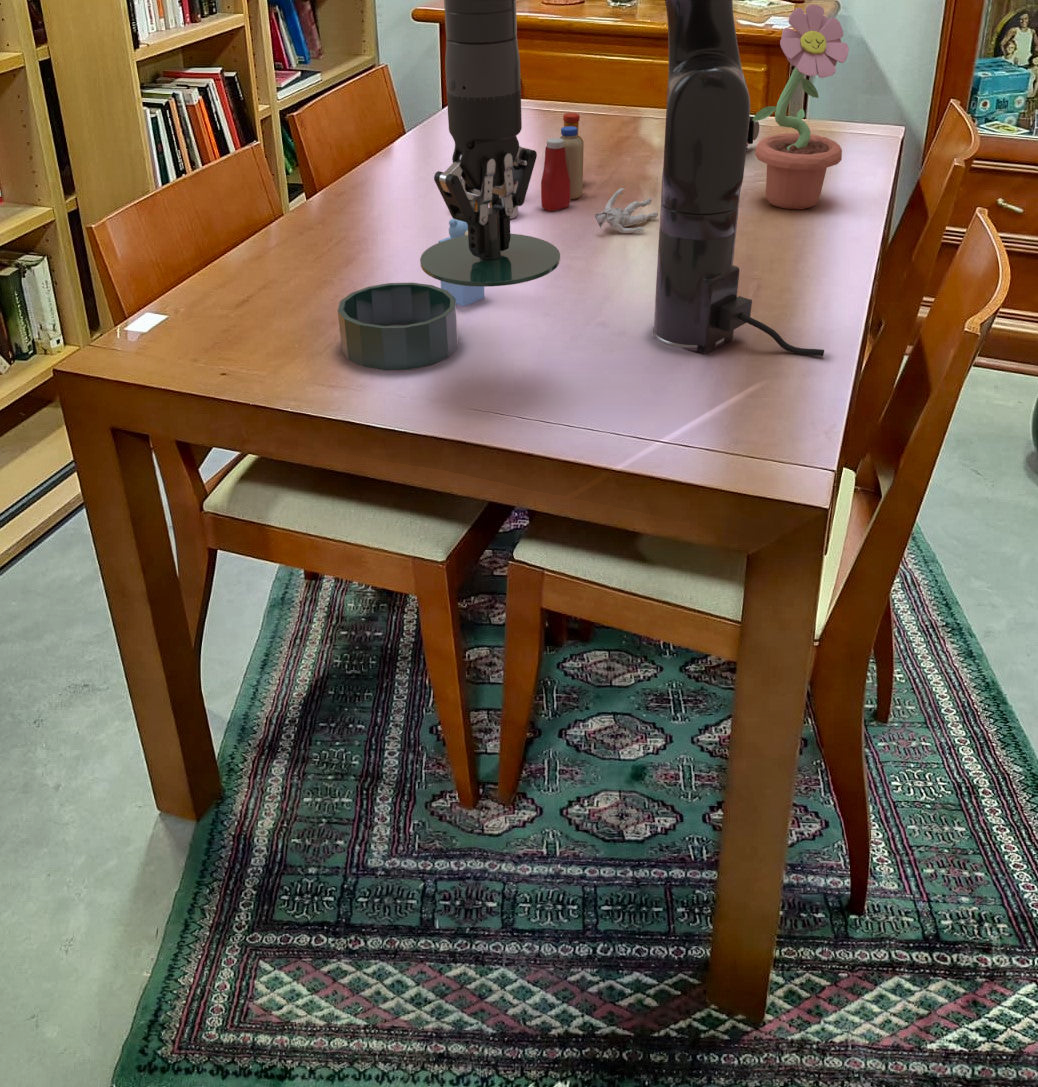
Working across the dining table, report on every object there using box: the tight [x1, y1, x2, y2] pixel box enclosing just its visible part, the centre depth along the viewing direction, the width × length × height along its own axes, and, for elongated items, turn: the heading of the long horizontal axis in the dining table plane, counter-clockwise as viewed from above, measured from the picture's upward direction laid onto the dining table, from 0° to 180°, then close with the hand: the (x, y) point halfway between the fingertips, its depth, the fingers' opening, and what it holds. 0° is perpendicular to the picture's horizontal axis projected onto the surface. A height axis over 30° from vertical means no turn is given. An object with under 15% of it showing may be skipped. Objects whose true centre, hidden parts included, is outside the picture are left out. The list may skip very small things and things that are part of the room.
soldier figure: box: [593, 187, 659, 234], centre depth 178 cm, size 8×5×12 cm
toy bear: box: [437, 218, 485, 307], centre depth 151 cm, size 4×4×12 cm
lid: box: [419, 207, 561, 288], centre depth 123 cm, size 15×15×6 cm
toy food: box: [474, 112, 585, 220], centre depth 187 cm, size 27×13×12 cm, turn 124°
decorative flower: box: [752, 3, 850, 210], centre depth 180 cm, size 15×14×30 cm
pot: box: [337, 282, 459, 371], centre depth 141 cm, size 14×14×6 cm
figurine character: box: [746, 115, 760, 151], centre depth 210 cm, size 7×8×15 cm
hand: (490, 251), depth 123 cm, fingers closed on lid, 2 cm apart
